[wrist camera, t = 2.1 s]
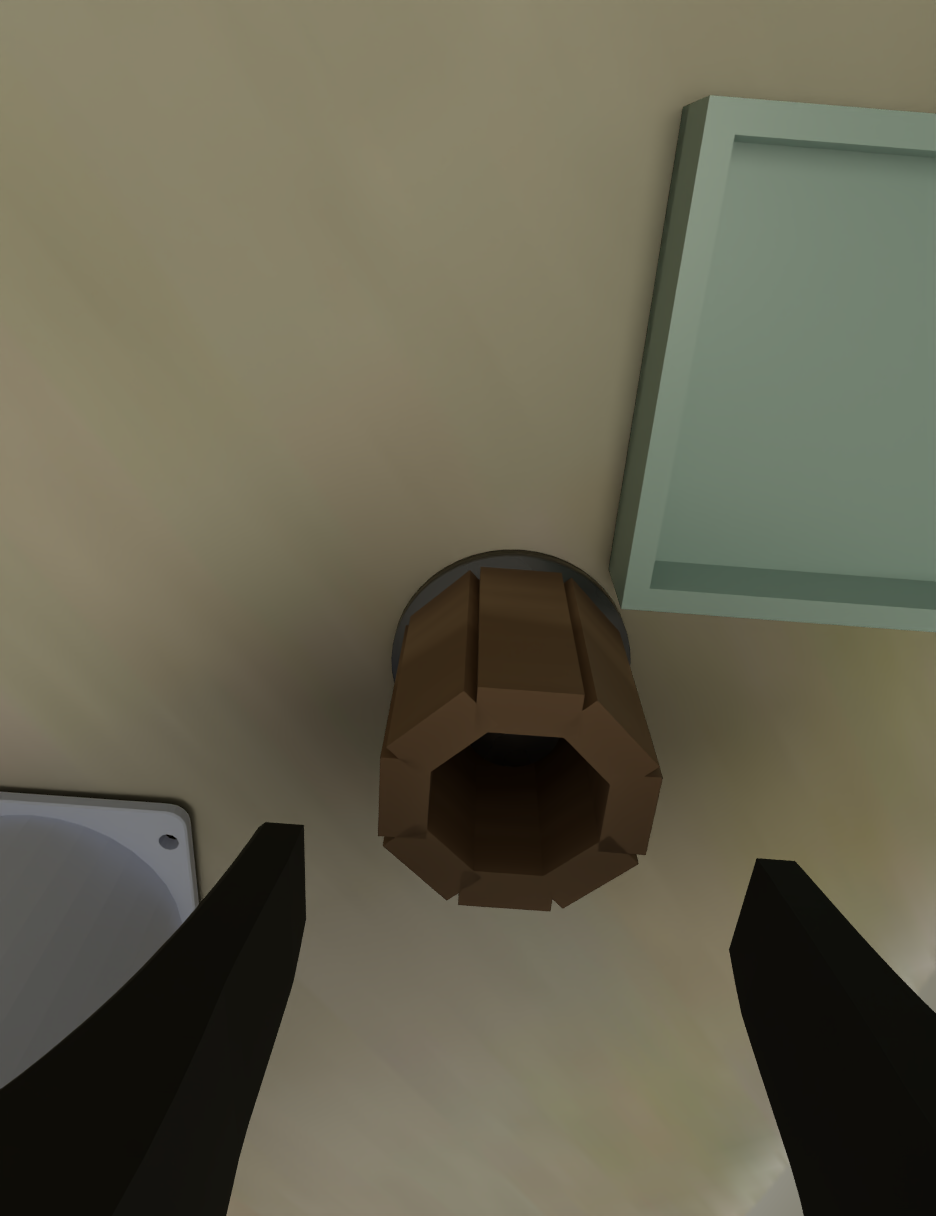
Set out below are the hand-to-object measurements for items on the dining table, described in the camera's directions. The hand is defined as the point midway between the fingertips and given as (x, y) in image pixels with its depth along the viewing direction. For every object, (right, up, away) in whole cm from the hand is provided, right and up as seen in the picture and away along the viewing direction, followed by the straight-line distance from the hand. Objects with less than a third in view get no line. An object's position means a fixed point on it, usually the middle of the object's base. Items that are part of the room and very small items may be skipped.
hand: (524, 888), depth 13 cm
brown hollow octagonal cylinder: (0, +3, +6) cm, 7 cm away
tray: (+7, +9, +4) cm, 12 cm away
